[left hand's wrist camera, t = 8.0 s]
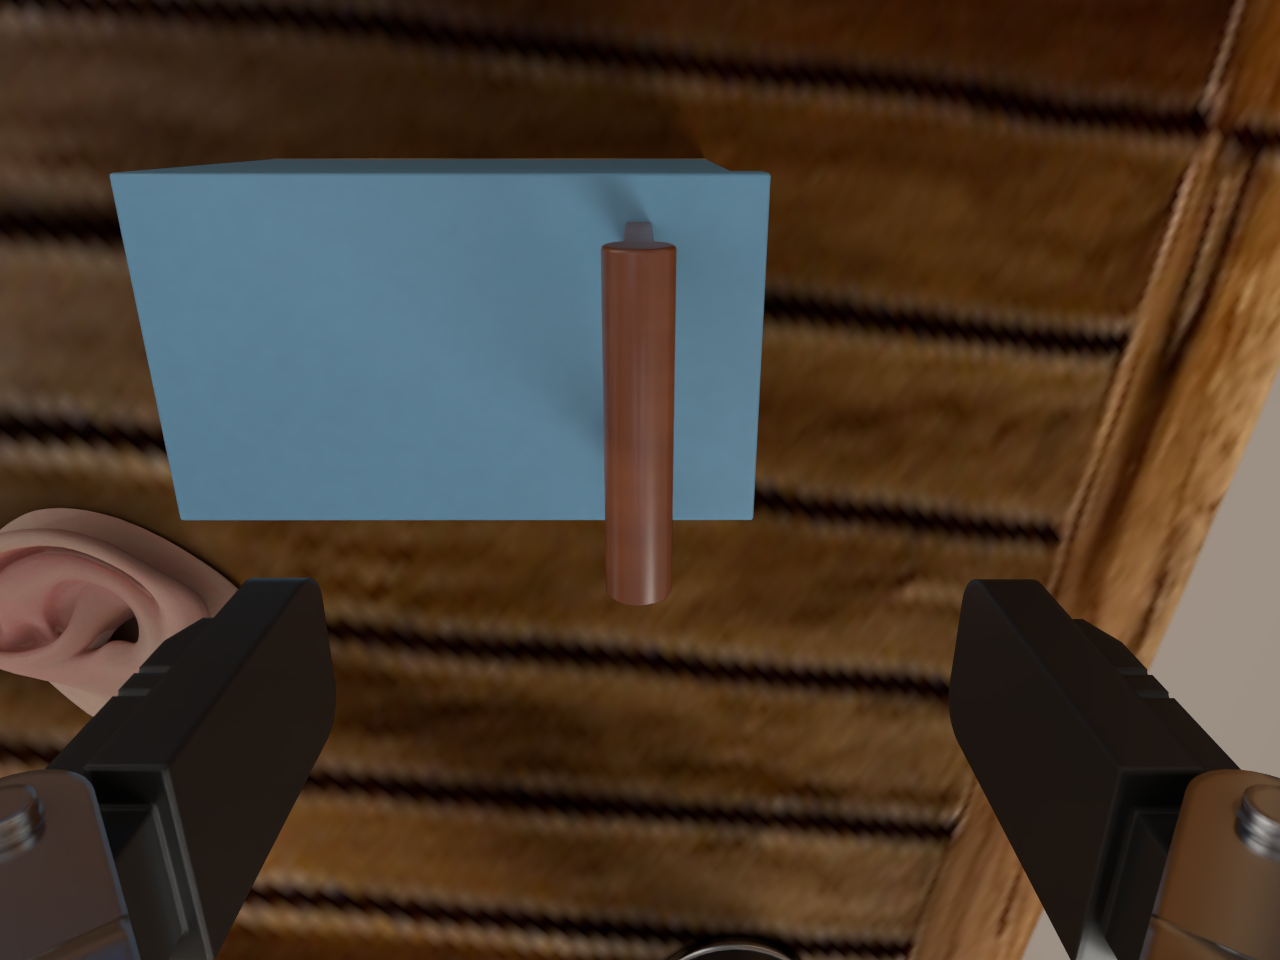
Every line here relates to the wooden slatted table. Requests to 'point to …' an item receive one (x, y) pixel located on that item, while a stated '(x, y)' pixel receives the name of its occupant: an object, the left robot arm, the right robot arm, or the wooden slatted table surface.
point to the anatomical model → (94, 599)
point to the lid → (457, 346)
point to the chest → (461, 164)
